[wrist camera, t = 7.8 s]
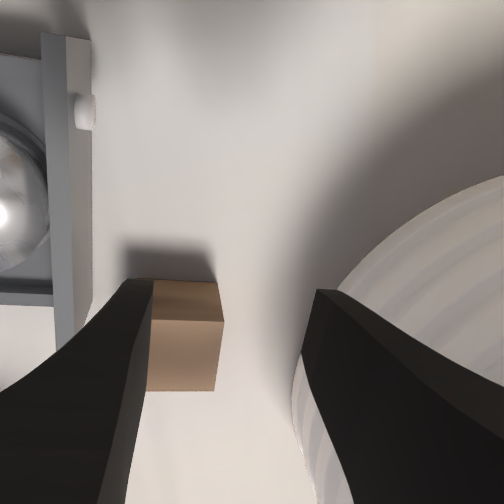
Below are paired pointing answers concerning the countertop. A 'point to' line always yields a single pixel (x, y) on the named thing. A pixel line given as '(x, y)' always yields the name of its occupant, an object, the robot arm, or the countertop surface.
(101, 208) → the countertop surface
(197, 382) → the brown cube
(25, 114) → the tray
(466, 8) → the countertop surface
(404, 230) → the plate stack
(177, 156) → the countertop surface
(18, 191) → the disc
